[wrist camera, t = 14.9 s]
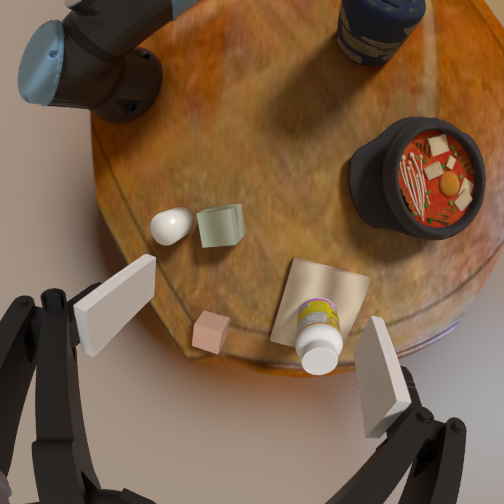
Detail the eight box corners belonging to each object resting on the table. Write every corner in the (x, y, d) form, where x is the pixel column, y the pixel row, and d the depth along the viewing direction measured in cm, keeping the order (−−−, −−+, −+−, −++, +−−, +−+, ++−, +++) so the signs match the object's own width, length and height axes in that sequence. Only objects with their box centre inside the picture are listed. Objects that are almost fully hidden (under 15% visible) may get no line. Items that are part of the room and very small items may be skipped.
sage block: (215, 237, 45) (202, 247, 40) (210, 207, 44) (196, 213, 38) (245, 234, 44) (235, 245, 39) (241, 203, 43) (230, 209, 37)
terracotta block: (201, 331, 52) (191, 345, 47) (204, 310, 50) (194, 323, 46) (225, 338, 51) (218, 354, 47) (229, 317, 50) (221, 332, 45)
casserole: (359, 249, 41) (370, 268, 33) (332, 130, 37) (338, 122, 29) (484, 220, 35) (511, 232, 27) (467, 113, 30) (493, 106, 22)
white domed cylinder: (166, 231, 47) (149, 240, 41) (170, 203, 45) (152, 209, 40) (192, 238, 46) (177, 249, 41) (196, 210, 45) (181, 216, 39)
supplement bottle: (338, 327, 45) (344, 378, 33) (299, 331, 46) (295, 382, 34) (336, 293, 43) (345, 339, 31) (296, 297, 44) (291, 344, 32)
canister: (373, 79, 33) (409, 31, 16) (323, 43, 32) (327, -21, 15) (402, 46, 29) (444, -6, 12) (355, 12, 29) (371, -52, 12)
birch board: (270, 337, 49) (269, 340, 48) (293, 256, 44) (293, 259, 43) (337, 353, 47) (337, 357, 46) (369, 277, 42) (371, 280, 41)
